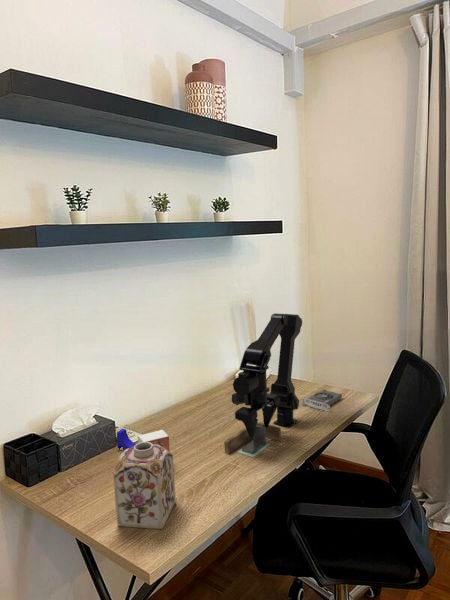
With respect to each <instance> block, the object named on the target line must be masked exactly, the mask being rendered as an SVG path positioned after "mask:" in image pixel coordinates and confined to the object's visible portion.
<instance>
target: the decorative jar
mask: <svg viewBox="0 0 450 600" xmlns="http://www.w3.org/2000/svg"><path fill="white" fill-rule="evenodd" d="M135 444H136V445H135V446H134V447H131V448H128V449H126V450H124V451H123V452H121V454H120V455H119V457H118V460H117V462H116V465H115V468H114V472H113V475H112V476H113V485H114V487H113V488H114V499H115V500H114V501H115V513H116V523H117V524H116V525H117V527H127V528H138V529H139V528H141V529H150V530H151V529H152V530H153V529H154V530H155V529H156V530H163V529H164V527H165V525H166V522H167V520H168V518H169V516H170V513H171V511H172V509H173V507H174V506H175V503H176V487H175V486H176V485H175V483H176V482H175V470H174V469H175V468H174V454H173V453H172V452H169V451H168V450H167V449H165V448H164V447H162V446H160V445H156V444H152V443H150V442H141V443H138V442H137V443H135Z"/></svg>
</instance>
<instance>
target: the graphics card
mask: <svg viewBox="0 0 450 600" xmlns="http://www.w3.org/2000/svg"><path fill="white" fill-rule="evenodd" d="M342 397H343V394H342V392H341V393H338V392H336V391H335V392H334V391H331V390H326V389H321V390H320V391H318V392H316V393H315V394H311V396H309V397H307V398H306V397H304V398H302V399H301V407H307V406H308V408H309V409H312V408H314V409H315V408H316V409H315V410H317V409H318V410H317V411H320V410H323V411H322V412H326V411H329V412H328V413H330V412H331V410H330V408H331V405H332V404H334V403H336V402H337V401H340V399H341V398H342ZM326 406H327V407H326Z"/></svg>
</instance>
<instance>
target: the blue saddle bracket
mask: <svg viewBox="0 0 450 600" xmlns="http://www.w3.org/2000/svg"><path fill="white" fill-rule="evenodd" d="M116 440H117V441H116V442H117V449H118V448H119V449H120V448H121V447H123V450H126V449H128V448H131V447H134V446H135V445H136V444H137V443H135V442H133V441H132V440H131V439H130V437H129V435H128V433H127V429H126V428H121V429H120V430H118V431H116ZM123 450H122V451H123Z"/></svg>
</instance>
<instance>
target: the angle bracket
mask: <svg viewBox="0 0 450 600" xmlns="http://www.w3.org/2000/svg"><path fill="white" fill-rule="evenodd" d="M252 439H253V440H250V442H248V443H247V444H246V445H244V446H242V447H241V449H242V451H243V452H246V453H250V454H254V453H255V452H256V451H258V450H259V449H260V448H262V447H263V446H264V445H266V443H267V437H266V427H265V426H261V425H256V429H255V433H254V436H253V438H252Z"/></svg>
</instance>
